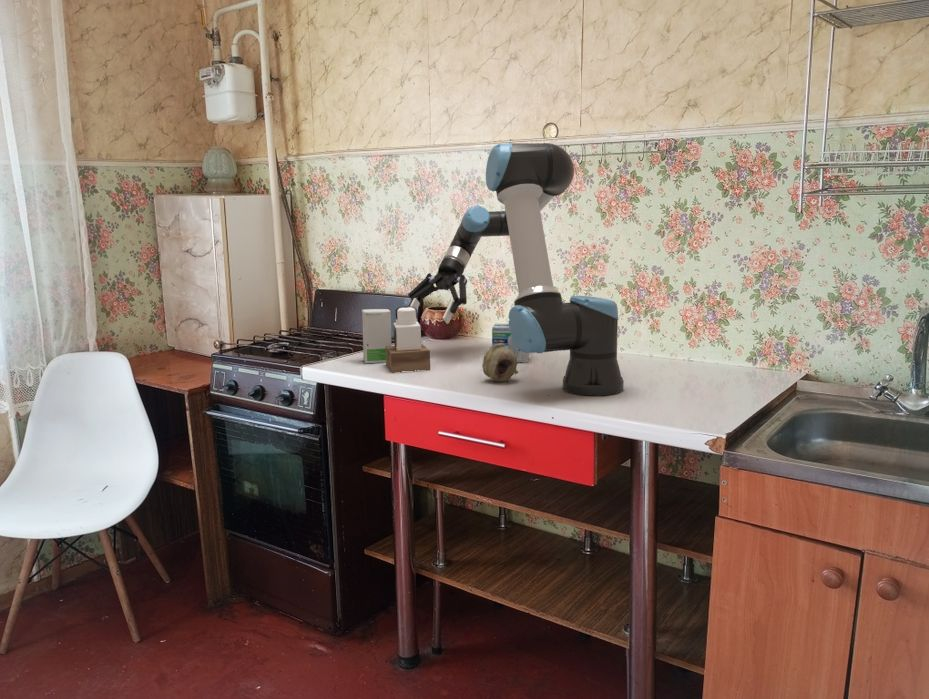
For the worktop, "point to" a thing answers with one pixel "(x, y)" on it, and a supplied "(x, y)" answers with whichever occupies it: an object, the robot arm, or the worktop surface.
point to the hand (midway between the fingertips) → (426, 319)
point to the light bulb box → (507, 341)
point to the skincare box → (376, 334)
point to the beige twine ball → (499, 363)
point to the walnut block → (407, 359)
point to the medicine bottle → (407, 329)
